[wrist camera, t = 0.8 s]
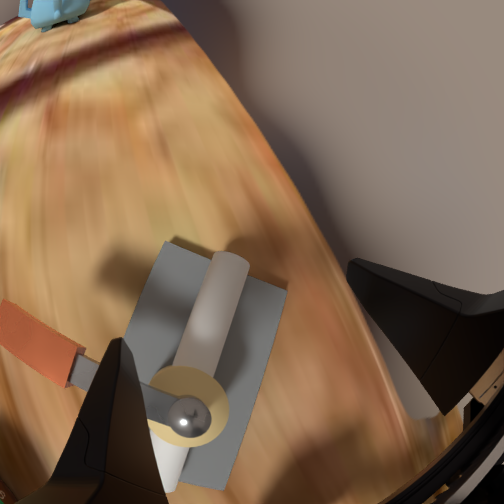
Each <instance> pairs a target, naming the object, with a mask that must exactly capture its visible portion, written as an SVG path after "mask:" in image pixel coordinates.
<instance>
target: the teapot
mask: <svg viewBox="0 0 504 504" xmlns="http://www.w3.org/2000/svg"><path fill="white" fill-rule="evenodd" d="M89 3H90V0H34V2H33V5H32V8H28V0H20V7H19V15H18V16H19V17H25V18H30V19H31V24H32V25H33V26H34V28H35V29H38V28H42V27H43V29H42V31H41V32H46V31H48V30H50V29H51V28H52V26H53V24H55V23H59V22H62V21H65V20H68V23H74V22H77V21H78V20H79V18H78V16H79V15H82V14H84V13H85V12H86V10H87V8H88V6H89Z"/></svg>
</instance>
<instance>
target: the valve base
mask: <svg viewBox="0 0 504 504" xmlns="http://www.w3.org/2000/svg"><path fill="white" fill-rule="evenodd" d="M249 268H250V264H249V263H248V261H246V260H245V259H244V258H242V257H241V256H239V255H236V254H234V253H230V252H226V251H217V252H215V253H214V254H213V257H212V260H210V259H208V258H205V257H203V256H200V255H198V254H196V253H193V252H191V251H188V250H186V249H184V248H181V247H179V246H177V245H174V244H172V243H170V242H167V241H165V242H164V244H163V246H162V248H161V250H160V253H159V255H158V257H157V259H156V261H155V263H154V266H153V268H152V270H151V272H150V275H149V277H148V279H147V281H146V284H145V286H144V288H143V291H142V293H141V295H140V298H139V300H138V303H137V305H136V307H135V310H134V312H133V315H132V317H131V320H130V322H129V325H128V328H127V330H126V333H125V335H124V338H123V339H124V340H125V342H126V344H127V345H128V347H129V348H130V350H131V352H132V354H133V357H134V361H135V365H136V369H137V373H138V377H139V381H141V382H143V383H145V384H148V385H150V386H153V387H155V388H158V389H161V390H163V391H166V392H169V393H171V394H174V395H177V396H180V395H193V396H195V397H197V398H199V399H201V400H202V401H203V402H204V404H205V405H206V406H207V408H208V409H209V411H210V413H211V417H212V421H211V425H210V427H209V429H208V430H207V432H206V433H204V434H203V435H201V436H199V437H195V438H186V437H182V436H180V435H178V434H177V433H175V432H174V431H173V430H172V429H171V427H169V426H166V425H163V424H160V423H158V422H155V421H152V420H150V419H147V421H148V426H149V431H150V435H151V440H152V445H153V449H154V453H155V457H156V461H157V465H158V469H159V473H160V477H161V480H162V484H163V487H164V490H165V492H173V491H175V489H176V486H177V483H178V481H180V482H184V483H188V484H192V485H197V486H202V487H206V488H211V489H217V490H223V491H224V488H225V486H226V483H227V481H228V478H229V475H230V473H231V470H232V467H233V464H234V462H235V459H236V456H237V453H238V450H239V448H240V445H241V442H242V439H243V436H244V433H245V430H246V427H247V424H248V421H249V419H250V416H251V412H252V409H253V406H254V403H255V400H256V397H257V394H258V391H259V388H260V385H261V381H262V378H263V375H264V372H265V368H266V365H267V362H268V358H269V355H270V352H271V348H272V345H273V342H274V338H275V335H276V331H277V328H278V324H279V321H280V317H281V313H282V310H283V306H284V303H285V299H286V295H287V290H284V289H282V288H279V287H276V286H274V285H271V284H269V283H266V282H264V281H261V280H259V279H256V278H254V277H252V276H249V275H247V274H248V271H249Z"/></svg>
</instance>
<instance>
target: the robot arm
mask: <svg viewBox="0 0 504 504" xmlns="http://www.w3.org/2000/svg"><path fill="white" fill-rule="evenodd" d="M346 279H347V282H348V284H349V285H350V287H351V288H352V290H353V291H354V293H355V294H356V296H357V297H358V299H359V300H360V302H361V304H362V305H363V306H364V308H365V310H366V311H367V312H368V314H369V315H370V316H371V317H372V319H373V320H374V321H375V322H376V324H377V325H378V326H379V328H380V329H381V330H382V331H383V333H384V334H385V335H386V336H387V338H388V339H389V341H390V342H391V343H392V344H393V346H394V347H395V348H396V350H397V351H398V352H399V354H400V355H401V356H402V358H403V359H404V360H405V362H406V363H407V364H408V366H409V367H410V369H411V370H412V371H413V373H414V374H415V375H416V377H417V378H418V379H419V380H420V382H421V384H422V385H423V387H424V388H425V390H426V391H427V392H428V394H429V395H430V396H431V398H432V400H433V401H434V402H435V404H436V405H437V407H438V408H439V410H440V411H441V413H442V414H443V415H444V416H445V415H446V414H448V413H449V412H450V411H451V410H452V409H453V408H454V407H455V406H456V405H457V404H458V403H459V402H460V400H461V399H462V398H463V397H464V396H465V395H466V394H467V393H468V392H469V393H470V394H471V395H472V396H473V398H472V399H471V401H470V402H469V403H468V404H467V405H466V406H465V407H464V421H463V432H462V433H461V434H460V435H459V436H458V437H457V438H456V439H455V440H454V441H453V442H452V443H451V445H450V446H448V447H447V448H446V449H445V450H444V451H443V452H442V453H441V454H440V455H439V456H438V457H437V458H436V459H435V460H434V461H433V462H431V463H430V464H429V465H428V466H427V467H426V468H425V469H423V470H422V471H421V472H420V473H419V474H417V475H416V476H415V477H414V478H413V479H411V480H410V481H409V482H407V483H406V484H405V485H404V486H402V487H401V488H400V489H398V490H397V491H395V492H394V493H393V494H391V495H390V496H388V497H387V498H385V499H384V500H383V501H381V502H380V503H378V504H422V503H423V502H425V501H426V500H427V499H428V498H429V497H430V496H432V495H433V494H434V493H435V492H436V491H437V490H438V489H439V488H441V487H442V486H443V485H444V484H446V485H447V487H448V488H449V489H448V490H446V491H445V492H443V493H441V494H439V495H438V496H437V497H435V499H436V500H435V501H434V502H433V503H431V504H504V465H503V464H502V463H503V462H504V290H502V291H499V292H497V293H494V294H487V295H485V294H479V293H475V292H470V291H466V290H463V289H458V288H455V287H451V286H447V285H444V284H440V283H437V282H435V281H431V280H428V279H425V278H422V277H418V276H415V275H412V274H409V273H405V272H402V271H399V270H396V269H393V268H389V267H386V266H383V265H379V264H376V263H373V262H369V261H366V260H363V259H360V258H355V259H352V260H350V261H349V262H348V266H347V274H346ZM14 504H169V503H168V500H167V497H166V494H165V490H164V487H163V484H162V480H161V477H160V473H159V469H158V465H157V461H156V457H155V453H154V449H153V445H152V440H151V435H150V431H149V426H148V421H147V415H146V410H145V404H144V398H143V393H142V389H141V385H140V381H139V377H138V373H137V369H136V365H135V361H134V357H133V354H132V352H131V350H130V348H129V347H128V345H127V344H126V342H125V340H124V339H123V338H122V337H119V338H115V339H112V340H111V341H110V343H109V345H108V348H107V350H106V352H105V354H104V356H103V358H102V360H101V362H100V365H99V367H98V369H97V371H96V373H95V376H94V378H93V380H92V383H91V385H90V387H89V390H88V392H87V394H86V397H85V399H84V402H83V404H82V406H81V409H80V412H79V414H78V417H77V419H76V422H75V424H74V427H73V429H72V432H71V434H70V437H69V439H68V441H67V444H66V446H65V448H64V450H63V452H62V454H61V457H60V459H59V461H58V463H57V465H56V468H55V470H54V472H53V474H52V476H51V478H50V479H49V481H48V482H47V483H46V484H45V485H44V486H42V487H41V488H39V489H38V490H36V491H35V492H33V493H31V494H30V495H28V496H26V497H25V498H23V499H21V500H20V501H18V502H16V503H14Z"/></svg>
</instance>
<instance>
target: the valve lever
mask: <svg viewBox="0 0 504 504" xmlns="http://www.w3.org/2000/svg"><path fill="white" fill-rule="evenodd" d="M0 344H1V345H2V346H3V347H4V348H6V349H7V350H8V351H9V352H11V353H12V354H13V355H15V356H16V357H17V358H19V359H20V360H21V361H23V362H24V363H26V364H27V365H29V366H30V367H31V368H33V369H34V370H36V371H37V372H39V373H40V374H42V375H43V376H45V377H47V378H48V379H50V380H51V381H53V382H55V383H56V384H58V385H60V386H61V387H63V388H67V387H70V386H73V385H75V386H77V387H79V388H81V389H83V390H85V391H87V392H88V390H89V387H90V385H91V383H92V380H93V378H94V376H95V373H96V371H97V369H98V367H99V365H100V363H99V362H97V361H95V360H93V359H91V358H89V357H88V356H86V355H84V353H85V350H86V348H85V347H84V346H82V345H80V344H78V343H76V342H74V341H73V340H71V339H69V338H67V337H66V336H64V335H62V334H61V333H59V332H57V331H56V330H54V329H52V328H51V327H49V326H47V325H46V324H44V323H43V322H41V321H40V320H38V319H37V318H35V317H34V316H32V315H31V314H29V313H28V312H26V311H25V310H23V309H22V308H20V307H19V306H18V305H16V304H14V303H12V302H10V301H7V300H5V299H3V300H2V303H1V306H0ZM140 385H141V389H142V393H143V398H144V404H145V410H146V415H147V419H150V420H152V421H155V422H158V423H160V424H163V425H166V426H169V427H171V429H172V430H173V431H174V432H175V433H177V434H178V435H180V436H182V437H186V438H195V437H199V436H201V435H203V434H204V433H206V432H207V430H208V429H209V427H210V425H211V421H212V417H211V413H210V411H209V409H208V408H207V406H206V405H205V404H204V402H203V401H202V400H201V399H199V398H197V397H195V396H193V395H180V396H177V395H174V394H171V393H169V392H166V391H163V390H161V389H158V388H155V387H153V386H150V385H148V384H145V383H143V382H141V381H140Z"/></svg>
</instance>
